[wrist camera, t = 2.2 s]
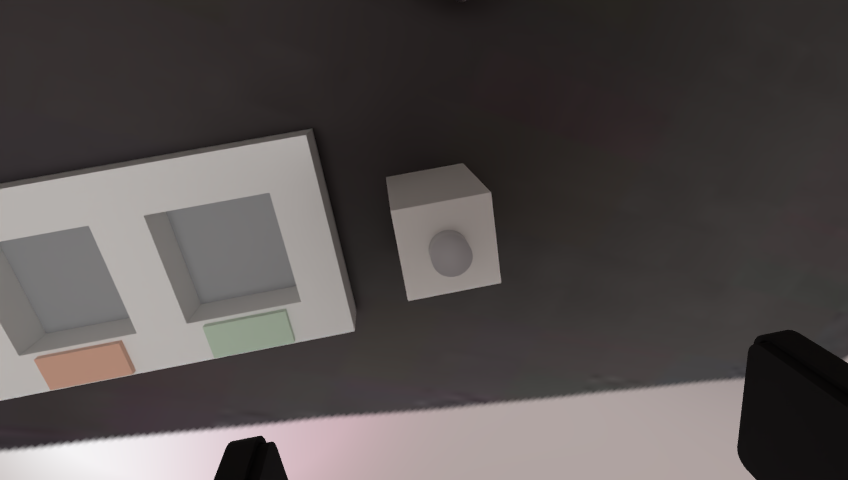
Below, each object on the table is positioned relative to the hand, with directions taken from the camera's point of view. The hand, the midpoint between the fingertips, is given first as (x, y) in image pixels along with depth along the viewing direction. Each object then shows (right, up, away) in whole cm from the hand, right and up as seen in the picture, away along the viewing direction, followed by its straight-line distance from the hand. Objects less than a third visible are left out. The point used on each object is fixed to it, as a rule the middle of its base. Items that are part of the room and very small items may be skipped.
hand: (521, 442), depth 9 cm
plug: (-2, +6, +15) cm, 16 cm away
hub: (-15, +3, +15) cm, 21 cm away
